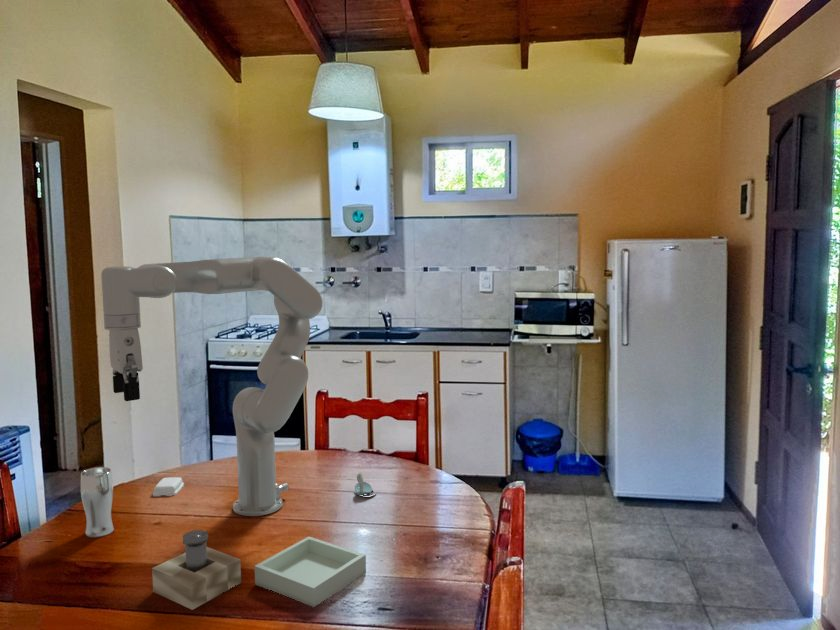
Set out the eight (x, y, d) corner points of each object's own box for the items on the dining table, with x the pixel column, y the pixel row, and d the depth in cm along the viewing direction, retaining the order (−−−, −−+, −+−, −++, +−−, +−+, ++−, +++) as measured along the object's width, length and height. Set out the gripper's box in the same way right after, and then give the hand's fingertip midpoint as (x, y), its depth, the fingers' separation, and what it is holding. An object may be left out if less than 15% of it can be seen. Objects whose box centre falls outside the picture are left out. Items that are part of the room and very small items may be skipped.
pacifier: (376, 490, 187) (355, 489, 187) (377, 468, 187) (355, 468, 187) (375, 500, 180) (352, 499, 180) (375, 478, 179) (353, 477, 179)
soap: (176, 497, 183) (175, 486, 183) (150, 497, 183) (150, 487, 183) (185, 485, 192) (185, 475, 192) (161, 485, 192) (160, 475, 191)
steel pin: (199, 578, 139) (197, 528, 137) (215, 585, 136) (213, 533, 135) (180, 589, 135) (177, 536, 133) (195, 596, 132) (193, 542, 131)
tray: (309, 553, 150) (308, 536, 149) (366, 572, 141) (365, 554, 140) (255, 584, 136) (254, 565, 136) (314, 608, 127) (313, 588, 127)
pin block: (202, 567, 144) (201, 544, 143) (241, 582, 137) (240, 559, 136) (153, 591, 134) (151, 568, 133) (192, 609, 127) (191, 585, 126)
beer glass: (103, 539, 157) (99, 477, 155) (76, 537, 158) (72, 475, 157) (121, 526, 164) (118, 467, 162) (96, 524, 165) (92, 465, 163)
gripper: (150, 324, 146) (154, 400, 148) (130, 316, 160) (133, 387, 162) (113, 327, 142) (118, 406, 144) (95, 319, 156) (100, 391, 157)
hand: (126, 396), depth 153 cm, fingers open, 9 cm apart
